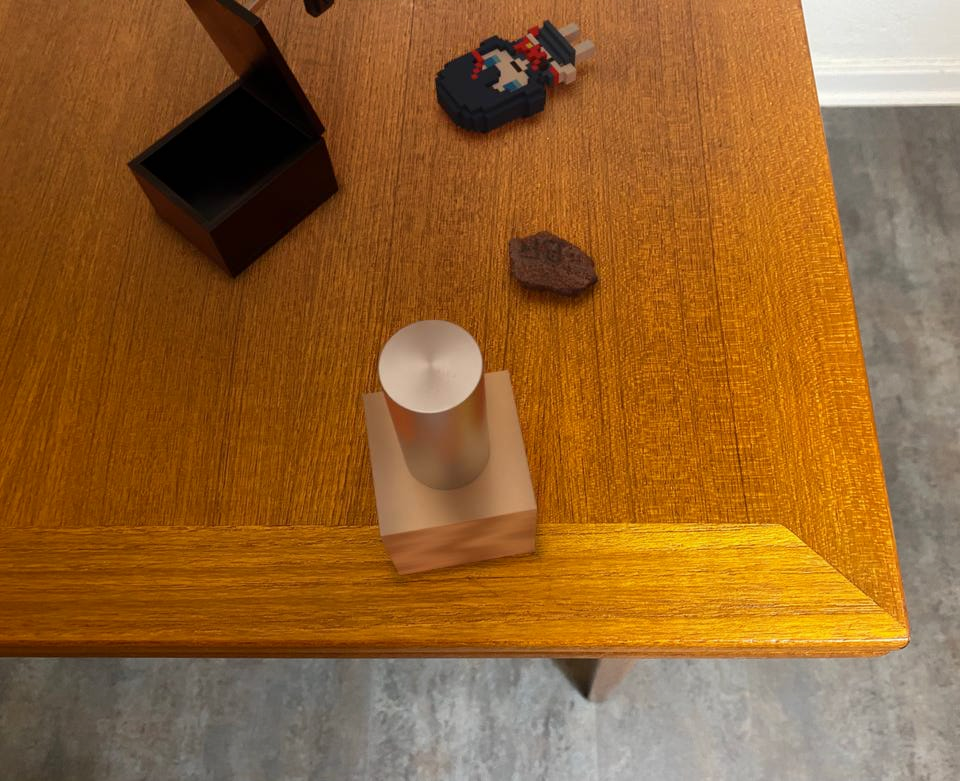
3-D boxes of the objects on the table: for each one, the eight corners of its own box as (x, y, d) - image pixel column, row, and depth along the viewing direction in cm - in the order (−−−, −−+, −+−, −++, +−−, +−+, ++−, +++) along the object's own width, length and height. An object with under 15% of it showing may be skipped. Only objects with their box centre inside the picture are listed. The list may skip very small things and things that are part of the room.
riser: (399, 575, 64) (380, 536, 55) (382, 449, 68) (362, 394, 59) (534, 551, 64) (537, 508, 55) (509, 427, 69) (508, 369, 60)
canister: (410, 497, 56) (384, 421, 45) (398, 417, 58) (371, 328, 47) (496, 482, 56) (491, 403, 45) (481, 403, 58) (473, 310, 48)
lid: (253, 26, 60) (303, -25, 61) (156, -42, 63) (204, -89, 64) (320, 137, 73) (360, 94, 73) (236, 75, 76) (275, 35, 77)
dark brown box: (233, 279, 75) (208, 232, 69) (156, 214, 79) (126, 163, 73) (339, 189, 79) (324, 137, 73) (261, 131, 83) (241, 76, 76)
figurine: (612, 52, 79) (469, 122, 77) (608, 87, 83) (472, 155, 80) (559, -5, 83) (420, 59, 80) (557, 31, 87) (424, 94, 84)
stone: (504, 246, 76) (504, 224, 73) (588, 237, 76) (591, 215, 73) (513, 312, 73) (513, 292, 70) (600, 303, 73) (603, 283, 70)
